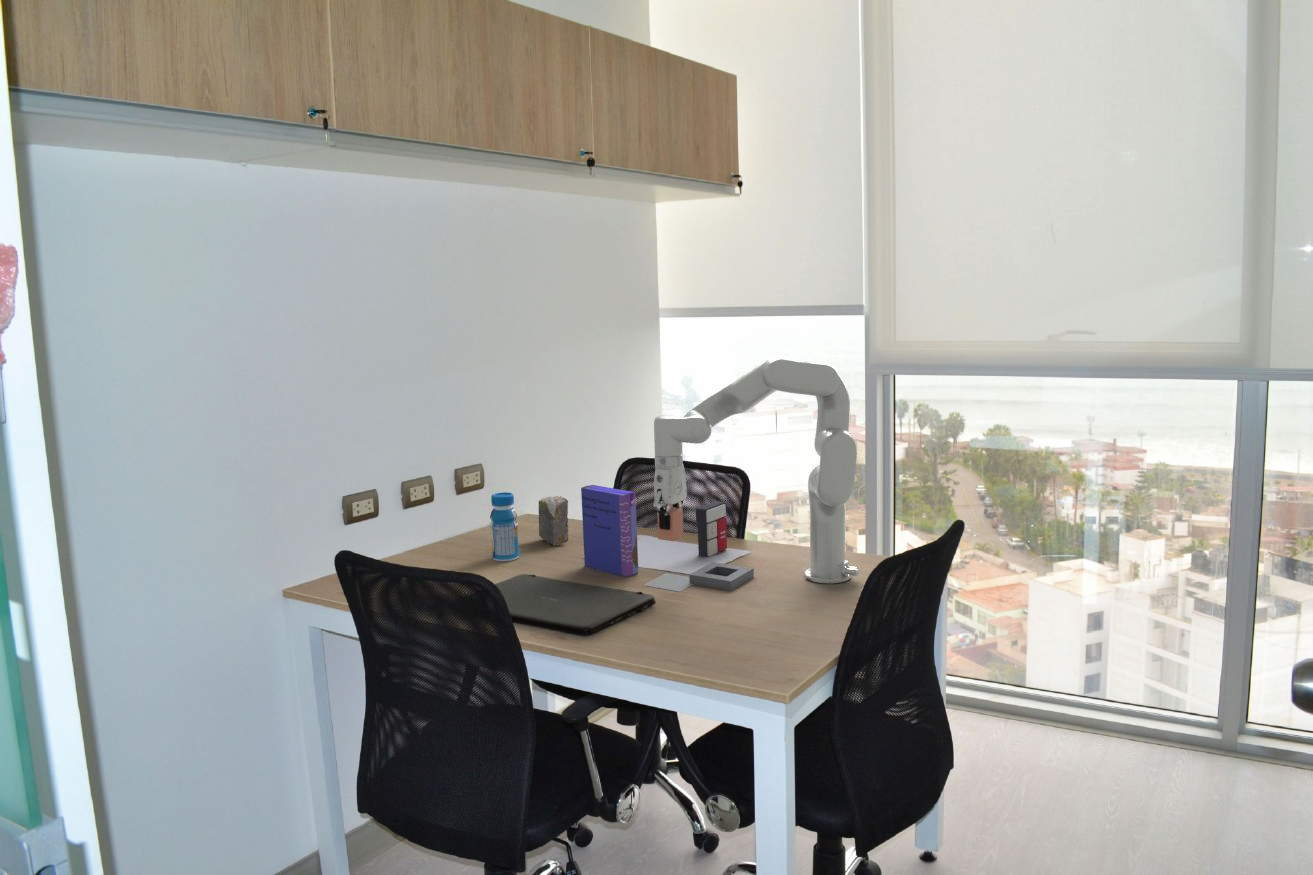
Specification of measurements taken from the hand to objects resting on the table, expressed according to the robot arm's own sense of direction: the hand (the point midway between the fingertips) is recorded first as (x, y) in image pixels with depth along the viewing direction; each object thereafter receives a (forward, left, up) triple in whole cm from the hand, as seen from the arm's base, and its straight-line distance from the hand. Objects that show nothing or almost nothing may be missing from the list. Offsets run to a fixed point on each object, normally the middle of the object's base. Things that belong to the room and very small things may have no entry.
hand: (670, 526), depth 266 cm
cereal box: (+23, -3, -17) cm, 28 cm away
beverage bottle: (+59, +2, -17) cm, 61 cm away
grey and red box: (+5, -31, -17) cm, 36 cm away
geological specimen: (+57, -19, -17) cm, 62 cm away
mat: (0, 0, -17) cm, 17 cm away
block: (0, 0, -3) cm, 3 cm away
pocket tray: (-11, -8, -17) cm, 21 cm away
